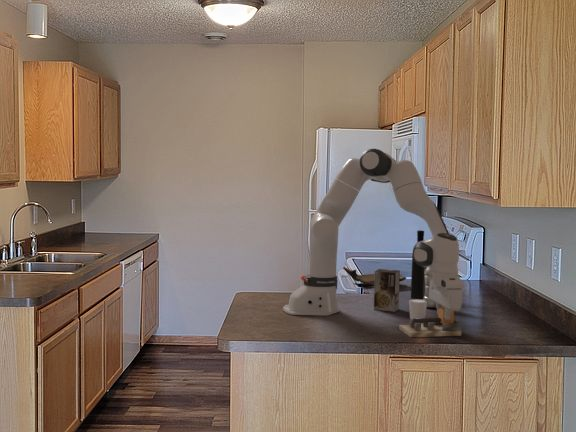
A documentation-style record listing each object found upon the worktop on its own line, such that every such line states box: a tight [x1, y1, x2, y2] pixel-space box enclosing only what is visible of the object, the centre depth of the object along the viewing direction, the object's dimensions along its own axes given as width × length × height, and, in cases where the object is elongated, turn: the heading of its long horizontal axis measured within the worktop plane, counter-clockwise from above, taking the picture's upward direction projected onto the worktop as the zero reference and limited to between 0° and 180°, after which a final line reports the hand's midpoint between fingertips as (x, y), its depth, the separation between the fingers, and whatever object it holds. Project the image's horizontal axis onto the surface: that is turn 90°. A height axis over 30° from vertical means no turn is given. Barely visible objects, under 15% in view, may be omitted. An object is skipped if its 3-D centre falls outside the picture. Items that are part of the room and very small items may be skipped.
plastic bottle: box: [422, 266, 437, 309], centre depth 280 cm, size 6×7×20 cm
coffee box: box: [373, 268, 401, 313], centre depth 275 cm, size 9×6×16 cm
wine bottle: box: [410, 229, 427, 300], centre depth 299 cm, size 6×6×30 cm
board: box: [398, 319, 462, 338], centre depth 241 cm, size 20×11×4 cm, turn 101°
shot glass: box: [408, 298, 427, 320], centre depth 261 cm, size 7×7×7 cm
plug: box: [411, 306, 455, 324], centre depth 241 cm, size 15×4×5 cm, turn 102°
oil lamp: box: [343, 266, 407, 288], centre depth 327 cm, size 22×30×8 cm
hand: (443, 317), depth 242 cm, fingers closed on plug, 4 cm apart
